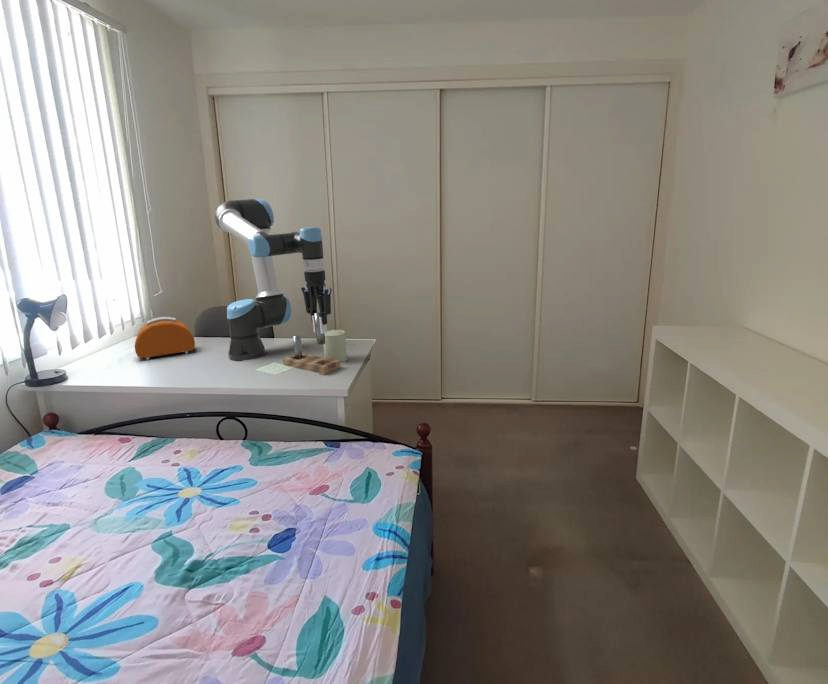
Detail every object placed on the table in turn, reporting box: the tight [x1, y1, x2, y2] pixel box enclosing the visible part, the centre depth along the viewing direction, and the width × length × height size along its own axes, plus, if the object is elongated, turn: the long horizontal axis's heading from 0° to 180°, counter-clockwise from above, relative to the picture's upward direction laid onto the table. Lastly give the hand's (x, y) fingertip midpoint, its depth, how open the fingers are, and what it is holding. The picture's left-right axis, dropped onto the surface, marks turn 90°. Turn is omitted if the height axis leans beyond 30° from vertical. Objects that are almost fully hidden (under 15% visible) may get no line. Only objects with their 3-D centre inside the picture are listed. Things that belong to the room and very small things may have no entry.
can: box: [322, 329, 348, 363], centre depth 210 cm, size 9×9×12 cm
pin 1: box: [292, 334, 304, 360], centre depth 206 cm, size 3×3×12 cm
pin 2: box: [314, 311, 325, 346], centre depth 196 cm, size 3×3×12 cm
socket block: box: [282, 353, 341, 376], centre depth 204 cm, size 22×9×3 cm, turn 56°
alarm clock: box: [134, 316, 196, 361], centre depth 226 cm, size 23×9×17 cm, turn 115°
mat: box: [254, 362, 295, 376], centre depth 203 cm, size 12×10×1 cm
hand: (320, 332), depth 197 cm, fingers closed on pin 2, 3 cm apart
